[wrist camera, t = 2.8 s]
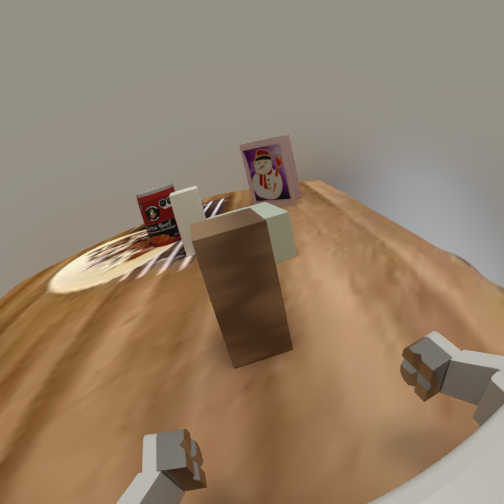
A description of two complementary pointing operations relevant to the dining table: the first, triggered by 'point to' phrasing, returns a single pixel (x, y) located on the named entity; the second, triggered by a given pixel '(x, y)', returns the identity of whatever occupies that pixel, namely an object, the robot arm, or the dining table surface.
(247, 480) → the dining table surface
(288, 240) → the sage block
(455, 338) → the dining table surface
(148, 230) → the canned food
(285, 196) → the greeting card
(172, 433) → the robot arm
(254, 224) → the walnut post
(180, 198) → the offwhite post
